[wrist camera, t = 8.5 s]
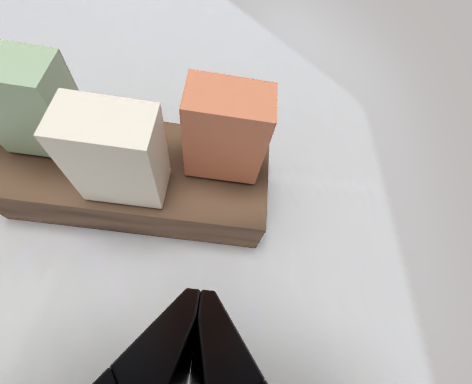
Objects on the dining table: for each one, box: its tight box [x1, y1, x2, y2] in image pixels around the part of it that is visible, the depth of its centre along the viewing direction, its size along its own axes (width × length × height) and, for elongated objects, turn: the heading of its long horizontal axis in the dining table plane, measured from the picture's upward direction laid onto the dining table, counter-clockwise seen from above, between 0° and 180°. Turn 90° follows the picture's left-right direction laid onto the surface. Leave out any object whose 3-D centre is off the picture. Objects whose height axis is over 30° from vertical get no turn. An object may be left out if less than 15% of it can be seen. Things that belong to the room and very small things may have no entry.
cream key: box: [33, 88, 171, 209], centre depth 16 cm, size 3×5×6 cm, turn 86°
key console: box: [0, 122, 269, 248], centre depth 22 cm, size 8×19×4 cm, turn 85°
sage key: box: [0, 39, 79, 157], centre depth 17 cm, size 3×5×6 cm, turn 85°
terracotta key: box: [179, 69, 278, 184], centre depth 18 cm, size 3×5×6 cm, turn 85°
